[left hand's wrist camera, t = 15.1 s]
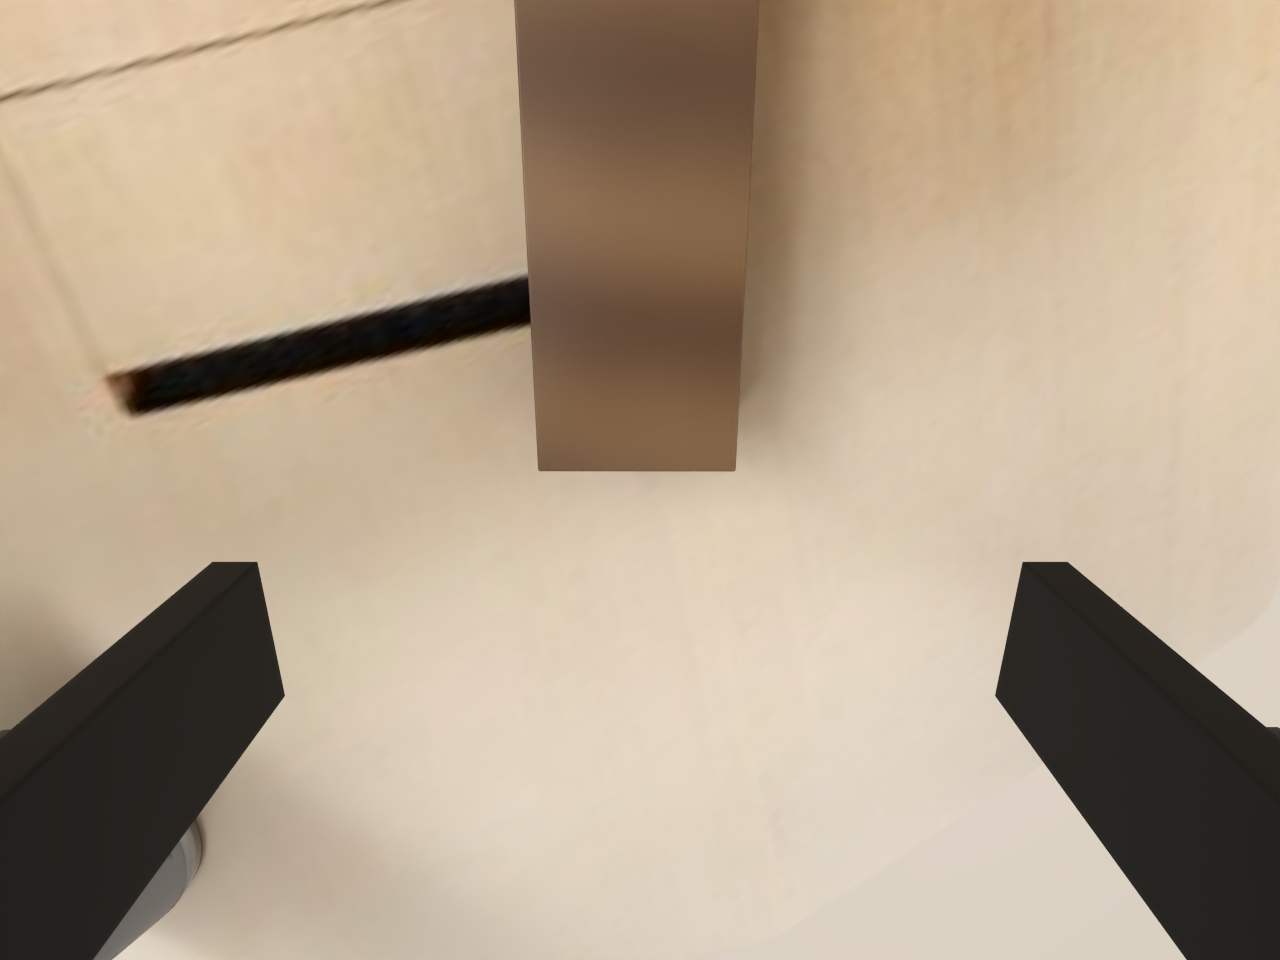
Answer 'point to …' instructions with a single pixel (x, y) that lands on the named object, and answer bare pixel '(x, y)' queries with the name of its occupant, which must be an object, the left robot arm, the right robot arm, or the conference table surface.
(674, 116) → the brown wooden beam
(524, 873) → the conference table surface
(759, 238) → the conference table surface
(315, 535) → the conference table surface
